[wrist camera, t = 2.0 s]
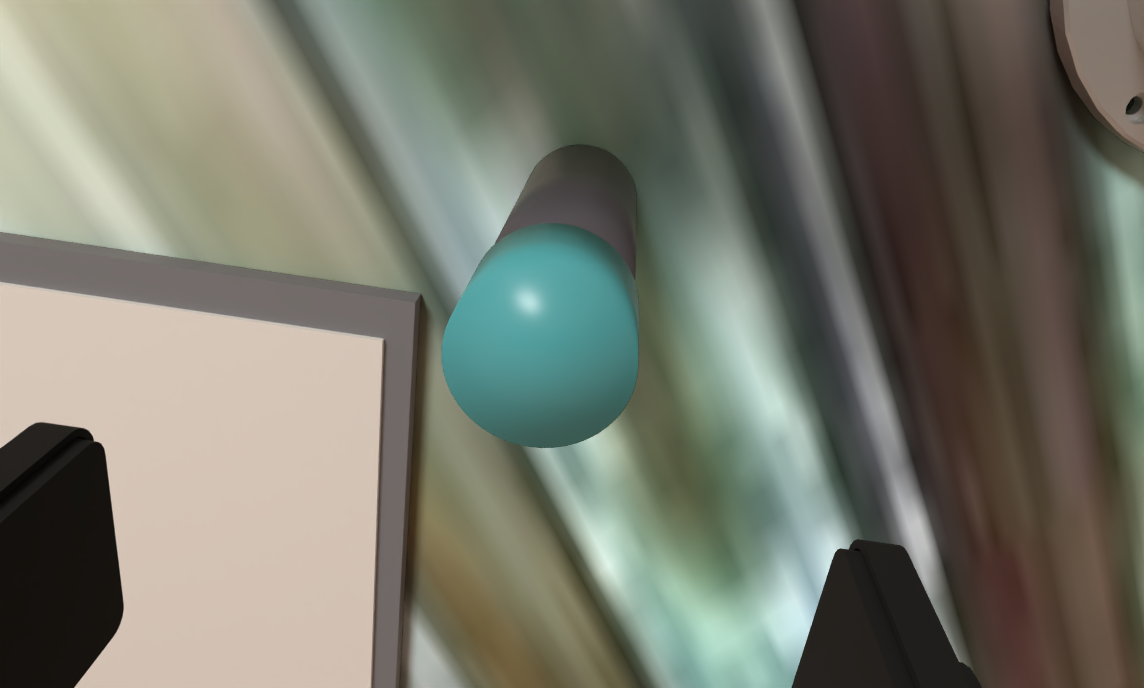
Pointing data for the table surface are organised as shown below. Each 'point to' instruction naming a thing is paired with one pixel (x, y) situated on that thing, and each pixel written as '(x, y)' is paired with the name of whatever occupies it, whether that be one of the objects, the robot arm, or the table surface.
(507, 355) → the marker
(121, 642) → the notepad
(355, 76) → the table surface
